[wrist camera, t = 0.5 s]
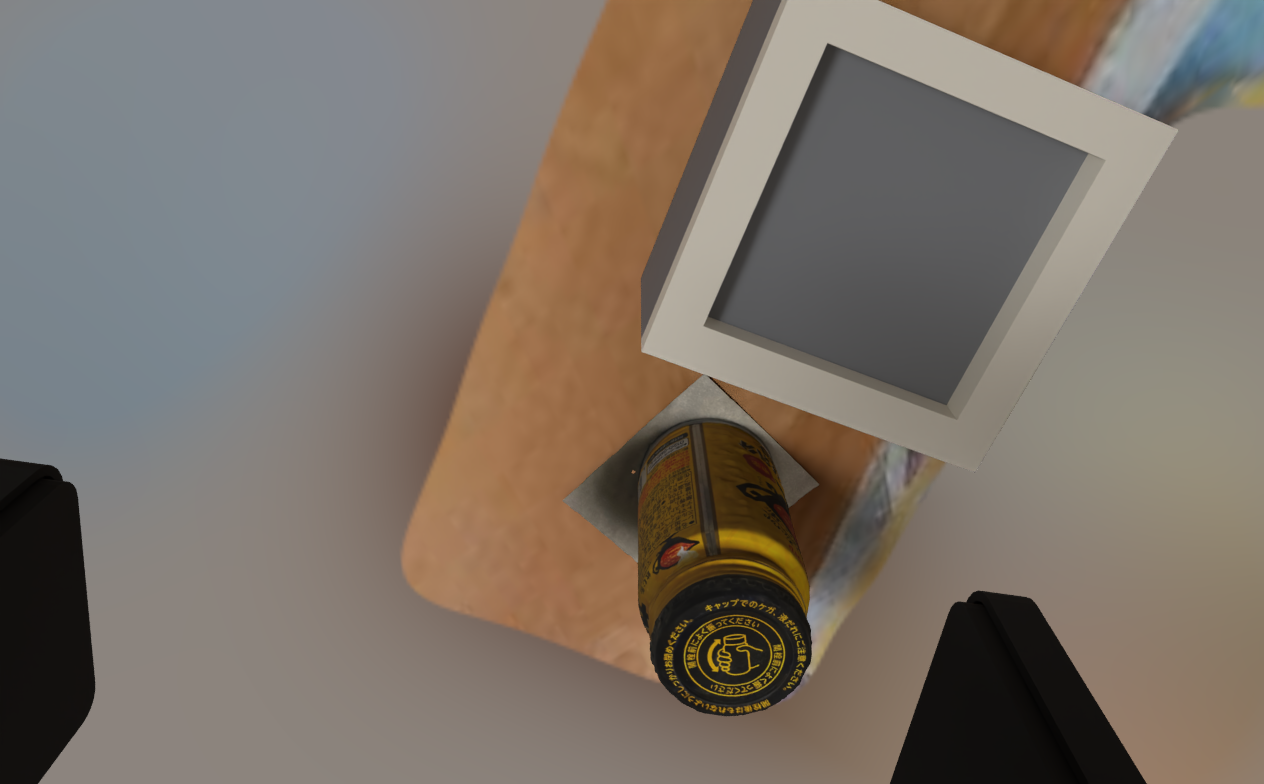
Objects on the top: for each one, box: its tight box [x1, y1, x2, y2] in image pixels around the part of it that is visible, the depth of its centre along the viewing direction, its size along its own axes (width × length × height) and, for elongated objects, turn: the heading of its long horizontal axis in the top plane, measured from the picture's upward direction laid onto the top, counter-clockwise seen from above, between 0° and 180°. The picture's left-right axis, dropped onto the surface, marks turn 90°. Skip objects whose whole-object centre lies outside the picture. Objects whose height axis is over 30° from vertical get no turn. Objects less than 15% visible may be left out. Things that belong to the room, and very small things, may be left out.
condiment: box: [563, 374, 819, 716], centre depth 37 cm, size 7×8×12 cm
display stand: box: [641, 0, 1179, 473], centre depth 33 cm, size 12×12×8 cm
